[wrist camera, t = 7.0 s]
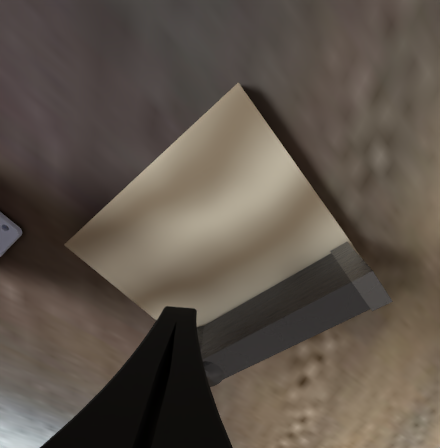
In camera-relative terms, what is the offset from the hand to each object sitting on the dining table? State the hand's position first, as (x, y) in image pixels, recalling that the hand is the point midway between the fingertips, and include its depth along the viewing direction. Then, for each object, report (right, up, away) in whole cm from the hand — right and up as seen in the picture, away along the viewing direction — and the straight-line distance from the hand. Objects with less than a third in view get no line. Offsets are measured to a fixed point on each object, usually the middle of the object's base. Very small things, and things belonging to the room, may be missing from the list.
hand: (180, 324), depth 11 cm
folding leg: (+5, -2, +8) cm, 9 cm away
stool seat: (+2, +3, +7) cm, 8 cm away
